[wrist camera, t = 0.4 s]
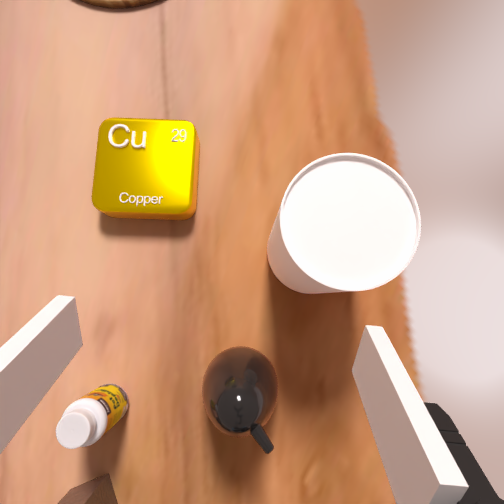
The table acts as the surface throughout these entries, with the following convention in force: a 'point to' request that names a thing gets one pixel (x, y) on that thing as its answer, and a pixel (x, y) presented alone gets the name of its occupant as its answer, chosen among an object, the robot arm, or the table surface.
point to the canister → (344, 226)
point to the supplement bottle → (92, 416)
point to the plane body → (92, 493)
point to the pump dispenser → (241, 393)
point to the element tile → (146, 169)
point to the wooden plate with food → (118, 3)
